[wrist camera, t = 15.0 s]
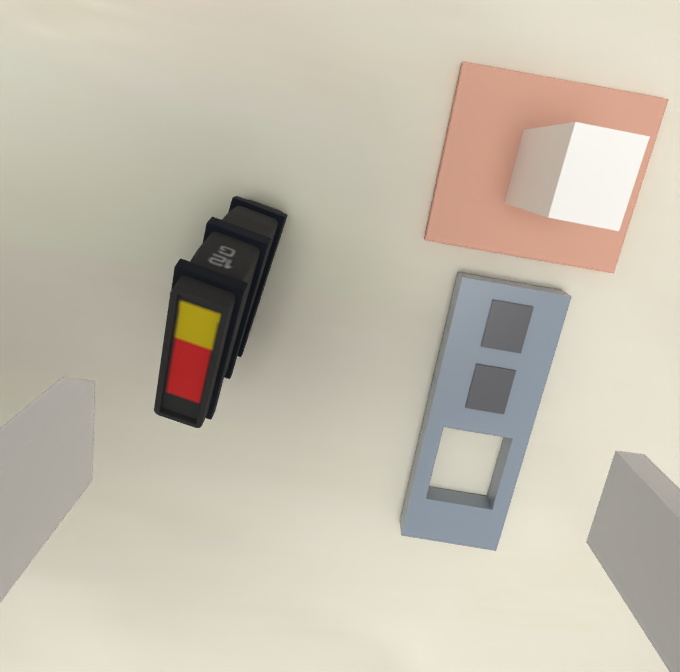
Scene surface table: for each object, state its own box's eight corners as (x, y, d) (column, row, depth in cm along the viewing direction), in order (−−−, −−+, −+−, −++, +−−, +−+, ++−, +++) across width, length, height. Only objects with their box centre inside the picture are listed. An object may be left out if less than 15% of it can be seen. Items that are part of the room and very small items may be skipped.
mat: (424, 238, 43) (425, 240, 42) (461, 63, 40) (463, 61, 39) (609, 271, 44) (613, 273, 43) (662, 100, 40) (668, 99, 39)
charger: (504, 203, 42) (547, 217, 32) (523, 129, 40) (575, 121, 31) (559, 213, 42) (618, 231, 32) (580, 140, 40) (649, 136, 31)
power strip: (399, 520, 50) (401, 536, 48) (457, 272, 44) (462, 277, 42) (490, 535, 51) (496, 552, 48) (562, 290, 44) (572, 297, 42)
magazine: (302, 172, 41) (237, 305, 29) (263, 307, 49) (201, 449, 38) (251, 152, 40) (165, 279, 29) (220, 292, 49) (145, 430, 38)
